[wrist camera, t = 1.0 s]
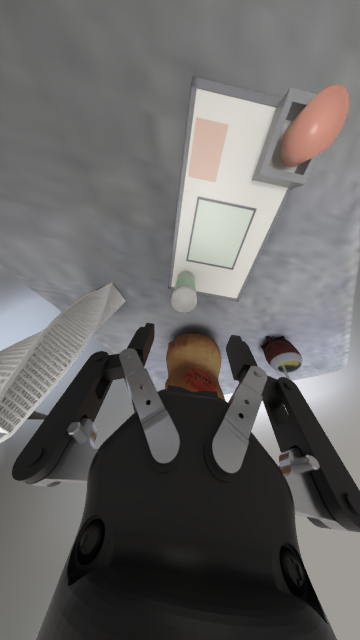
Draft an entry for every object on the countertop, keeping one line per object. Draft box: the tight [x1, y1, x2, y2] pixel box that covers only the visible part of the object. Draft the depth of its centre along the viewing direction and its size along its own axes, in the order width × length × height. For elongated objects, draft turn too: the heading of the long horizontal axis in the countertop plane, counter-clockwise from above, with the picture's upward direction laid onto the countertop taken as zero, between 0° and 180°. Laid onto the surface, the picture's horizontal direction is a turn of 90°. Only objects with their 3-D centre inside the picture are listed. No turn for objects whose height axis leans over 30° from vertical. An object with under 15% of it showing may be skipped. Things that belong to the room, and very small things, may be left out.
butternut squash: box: [165, 333, 225, 400], centre depth 29 cm, size 14×13×25 cm
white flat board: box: [168, 76, 320, 301], centre depth 22 cm, size 16×25×3 cm, turn 171°
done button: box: [280, 85, 349, 167], centre depth 14 cm, size 4×4×3 cm
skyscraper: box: [0, 282, 126, 443], centre depth 21 cm, size 8×8×28 cm
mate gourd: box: [261, 336, 302, 380], centre depth 32 cm, size 8×8×15 cm
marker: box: [171, 271, 197, 313], centre depth 23 cm, size 4×4×10 cm
